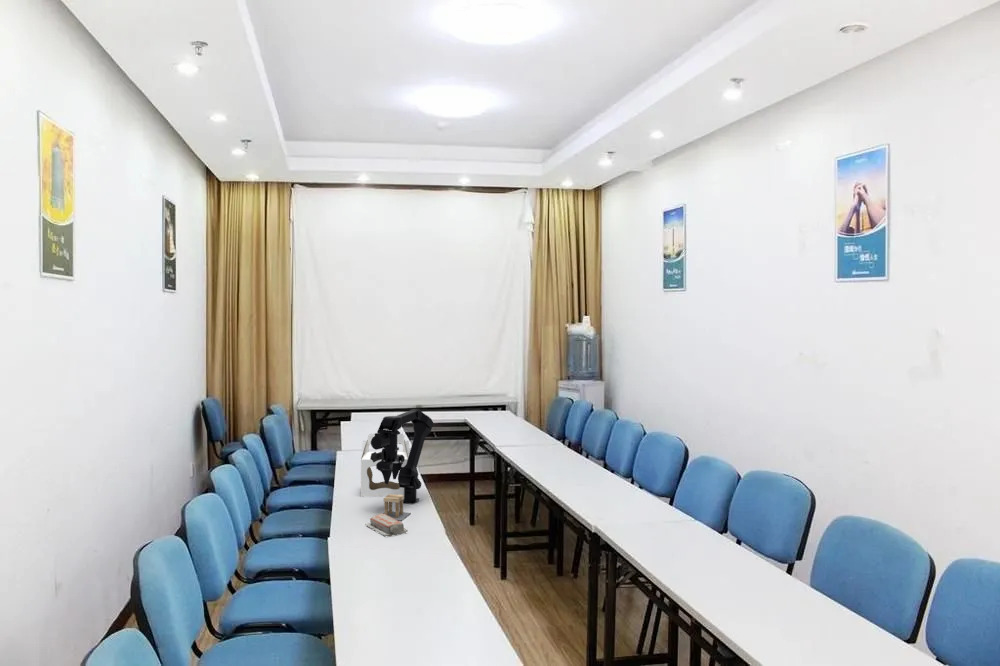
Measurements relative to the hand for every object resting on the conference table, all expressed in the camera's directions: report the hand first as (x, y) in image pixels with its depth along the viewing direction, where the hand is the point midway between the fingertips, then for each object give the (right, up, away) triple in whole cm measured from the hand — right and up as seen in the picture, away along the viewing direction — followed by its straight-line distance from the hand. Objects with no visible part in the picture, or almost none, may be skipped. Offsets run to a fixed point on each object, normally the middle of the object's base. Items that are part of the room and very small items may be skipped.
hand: (390, 481), depth 318 cm
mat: (+3, -13, -11) cm, 17 cm away
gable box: (-6, -11, +28) cm, 30 cm away
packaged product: (+3, -14, -28) cm, 31 cm away
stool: (+3, -12, -11) cm, 16 cm away
